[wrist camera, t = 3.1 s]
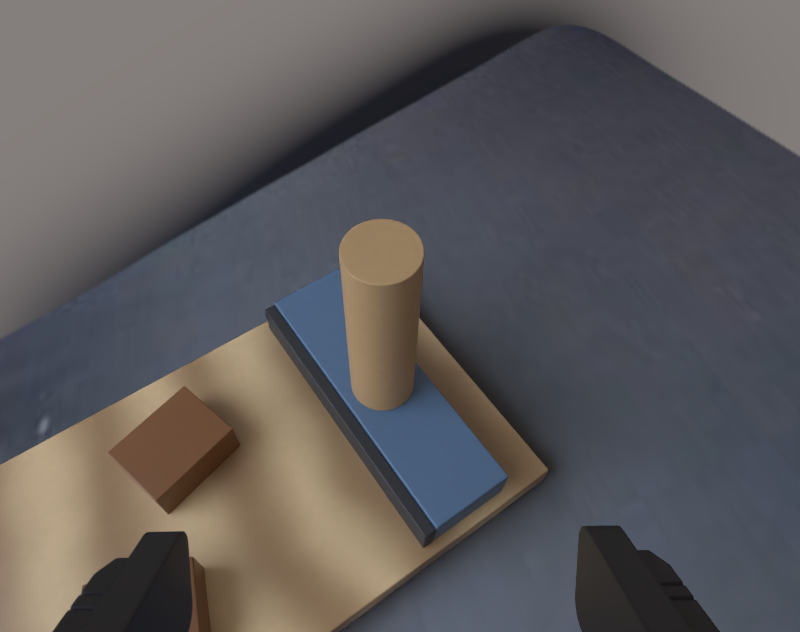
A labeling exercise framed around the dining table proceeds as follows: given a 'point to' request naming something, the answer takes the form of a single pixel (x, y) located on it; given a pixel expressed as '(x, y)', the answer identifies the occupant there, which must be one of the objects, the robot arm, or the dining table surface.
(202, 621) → the block
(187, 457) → the block
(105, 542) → the cutting board
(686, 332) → the dining table surface
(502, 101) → the dining table surface
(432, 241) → the dining table surface
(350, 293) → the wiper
